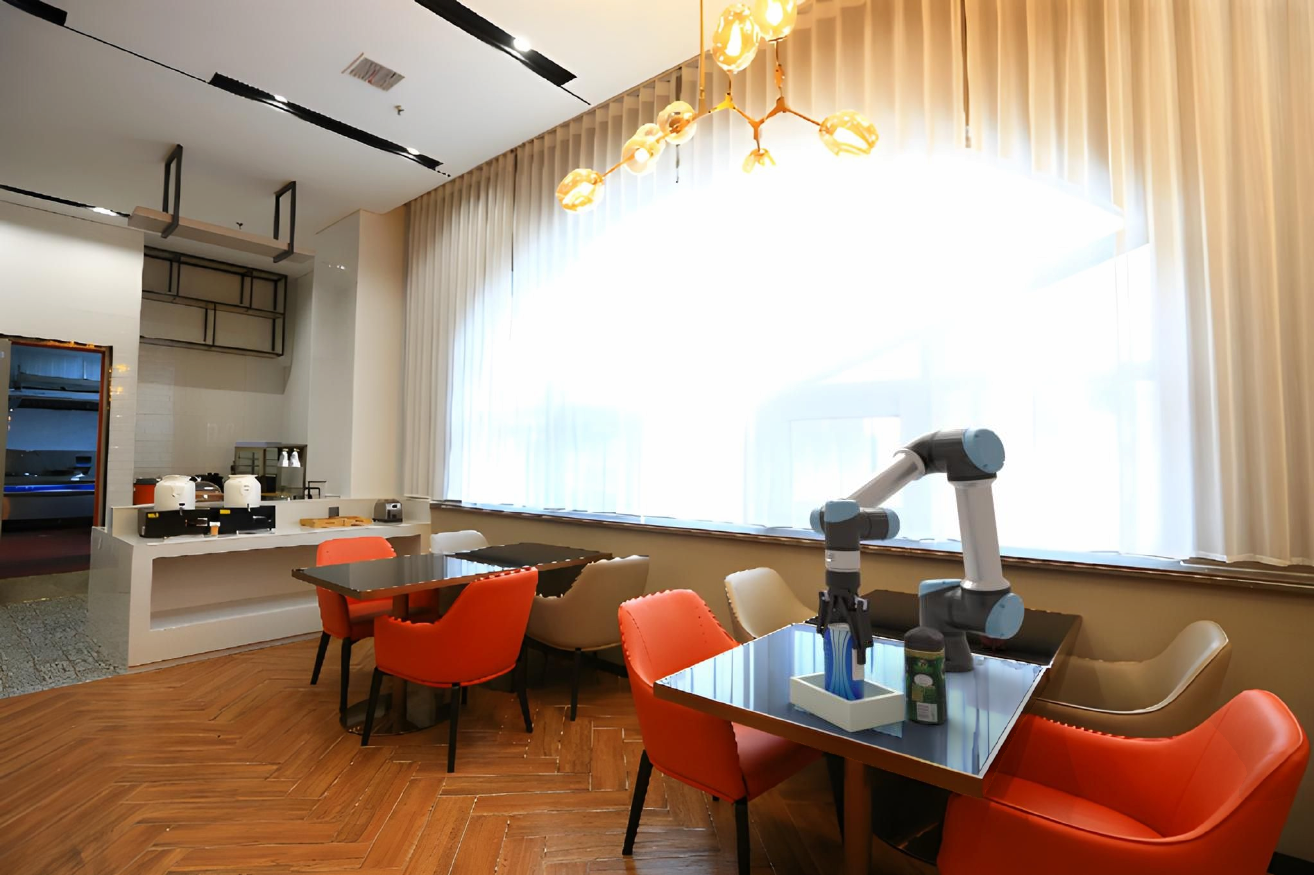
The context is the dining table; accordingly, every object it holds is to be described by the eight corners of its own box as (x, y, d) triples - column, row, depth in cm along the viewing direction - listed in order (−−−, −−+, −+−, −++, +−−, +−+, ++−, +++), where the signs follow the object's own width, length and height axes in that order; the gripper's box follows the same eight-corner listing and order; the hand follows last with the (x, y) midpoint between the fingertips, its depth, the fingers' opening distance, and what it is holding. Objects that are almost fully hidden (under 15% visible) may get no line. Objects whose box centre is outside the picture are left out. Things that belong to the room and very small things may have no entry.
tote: (840, 692, 150) (840, 669, 151) (904, 720, 133) (904, 693, 133) (789, 702, 144) (789, 677, 144) (850, 732, 126) (849, 704, 127)
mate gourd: (978, 644, 196) (976, 595, 197) (1006, 646, 193) (1005, 597, 194) (981, 650, 189) (980, 599, 190) (1011, 653, 186) (1009, 601, 187)
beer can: (859, 709, 133) (858, 632, 134) (820, 702, 137) (819, 627, 138) (868, 698, 140) (867, 625, 141) (830, 691, 144) (829, 620, 146)
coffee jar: (910, 707, 141) (908, 622, 142) (949, 714, 137) (946, 626, 138) (902, 721, 133) (900, 631, 134) (943, 728, 128) (940, 636, 130)
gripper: (799, 564, 148) (800, 663, 147) (864, 576, 130) (866, 690, 128) (824, 563, 152) (825, 659, 150) (891, 574, 133) (893, 685, 131)
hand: (844, 673), depth 139 cm, fingers closed on beer can, 8 cm apart
